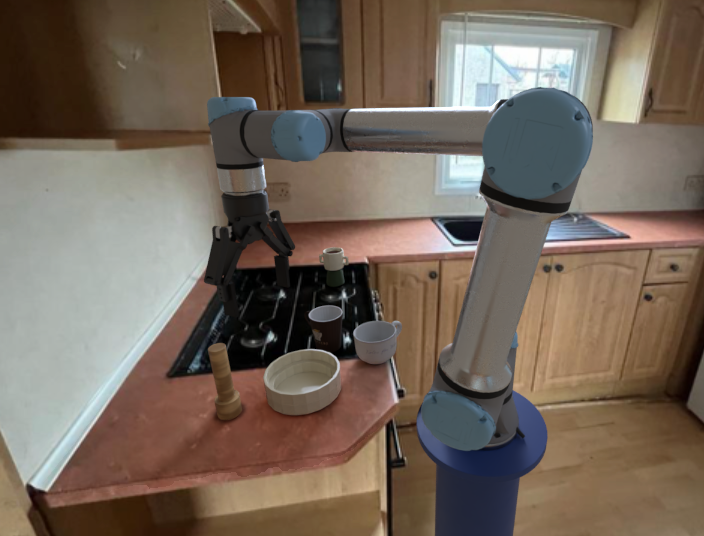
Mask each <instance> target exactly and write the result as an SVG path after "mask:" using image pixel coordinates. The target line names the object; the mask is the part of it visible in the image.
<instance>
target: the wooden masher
mask: <svg viewBox="0 0 704 536" xmlns="http://www.w3.org/2000/svg"><path fill="white" fill-rule="evenodd" d="M207 352H208V357H209V361H210V366H211V371H212V376H213V381H214V385H215V390H216V395H215V397H214V401H213V402H214V406H215V411H216V415H217V417H218V419H219V420H221V421H230V420H233V419H236V418H237V417H238V416H239V415H241V413H242V411H243V406H242V405H243V404H242V400H241V395H240V391H238V390H237V389H235V386H234V381H233V376H232V372H231V371H232V370H231V366H230V361H229V356H228V350H227V346H226V344H225V343H223V342H217V343H214V344H212V345H209V347H208V348H207Z"/></svg>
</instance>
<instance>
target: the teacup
mask: <svg viewBox="0 0 704 536" xmlns="http://www.w3.org/2000/svg"><path fill="white" fill-rule="evenodd" d="M402 329H403V325H402V322H400V321H398V320H393V321H392V322H389V321H384V320H372V321H366V322H363V323H361V324H360V325H358V326H357V327H356V328H355V329H354V330H353V333H352V335H353V336H352V337H353V340H354V341H353V342H354V347H355V353H356V355H357V357H358V358H359V359H360V360H361V361H363V362H365V363H366V364H370V365H381V364H384V363H387V361H389V360H390V359H392V357H393V356H395V354H396V352H397V347H398V345H397V344H398V343H397V342H398V341H397V338H398V337H399V336H400V334H401V332H402Z"/></svg>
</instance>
